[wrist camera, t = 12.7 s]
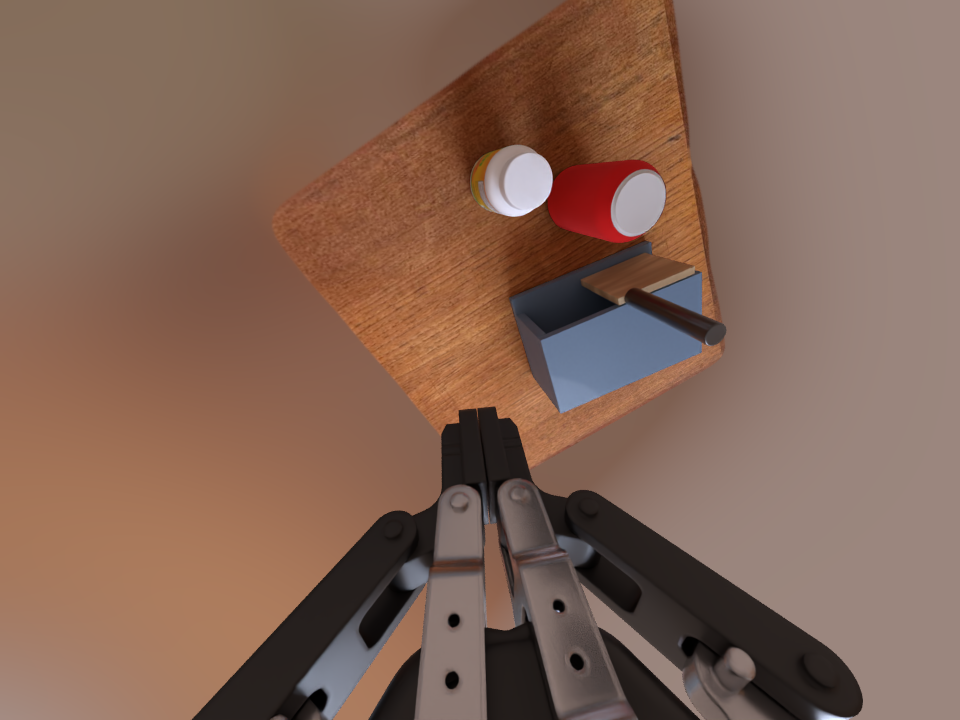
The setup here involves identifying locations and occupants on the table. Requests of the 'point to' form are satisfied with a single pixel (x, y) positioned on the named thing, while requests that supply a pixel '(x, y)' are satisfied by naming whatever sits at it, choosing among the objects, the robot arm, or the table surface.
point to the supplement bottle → (511, 180)
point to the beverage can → (608, 199)
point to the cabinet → (599, 334)
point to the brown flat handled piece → (634, 289)
